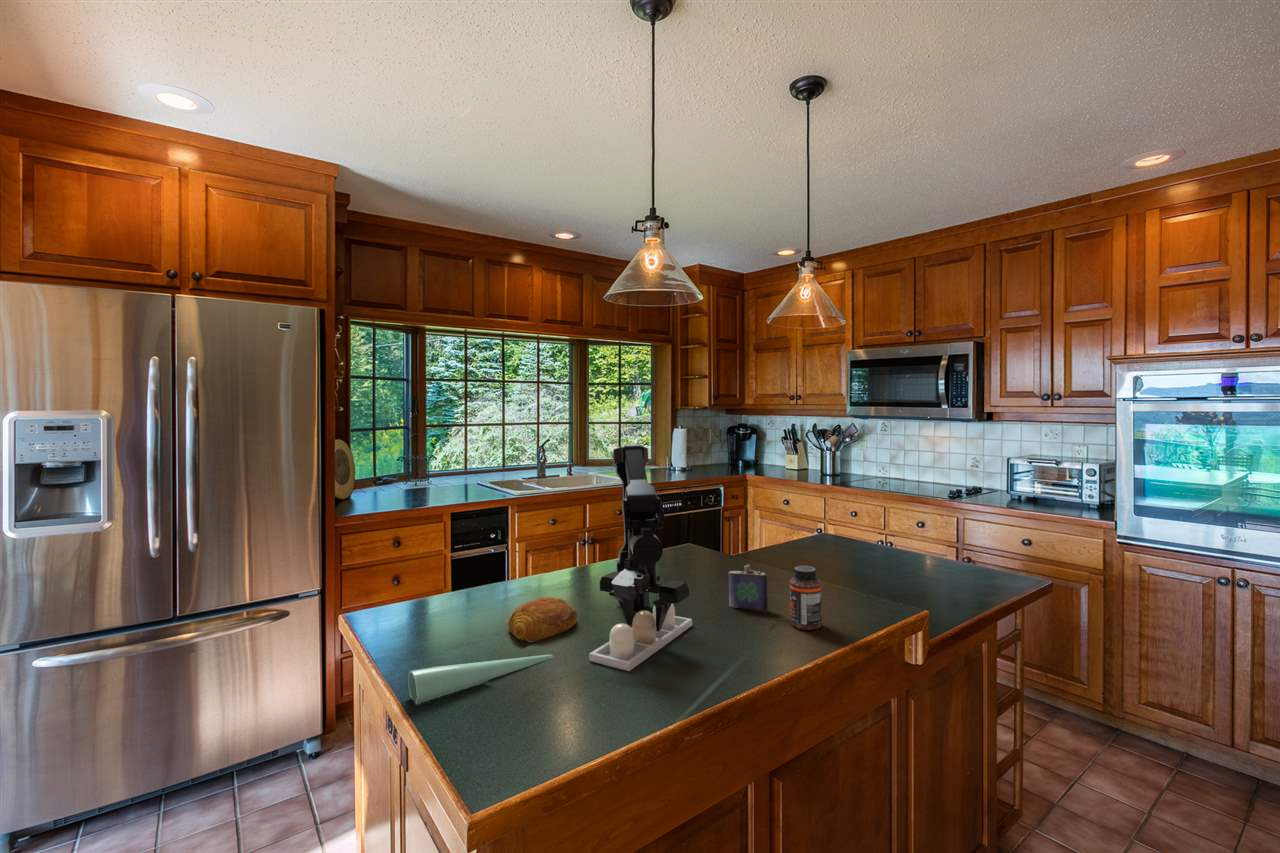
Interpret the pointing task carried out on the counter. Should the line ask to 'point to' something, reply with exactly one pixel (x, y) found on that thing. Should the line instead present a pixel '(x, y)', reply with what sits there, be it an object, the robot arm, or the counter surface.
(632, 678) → the counter surface
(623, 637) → the cream egg
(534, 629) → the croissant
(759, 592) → the flask
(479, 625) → the counter surface
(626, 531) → the robot arm
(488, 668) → the long green cone
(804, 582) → the supplement bottle
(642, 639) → the tan egg
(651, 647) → the egg carton
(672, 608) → the cream egg
